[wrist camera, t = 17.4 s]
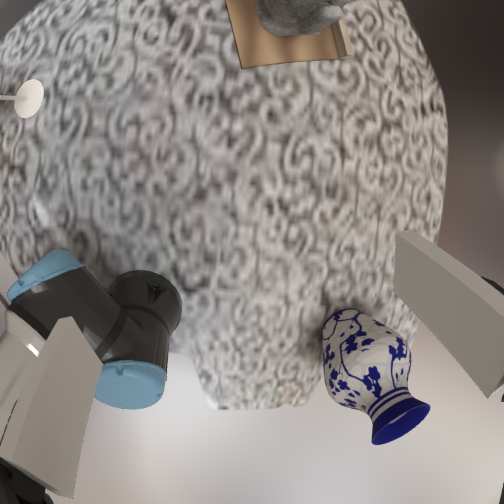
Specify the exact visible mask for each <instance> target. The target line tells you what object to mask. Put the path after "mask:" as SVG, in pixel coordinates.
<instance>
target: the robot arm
mask: <svg viewBox="0 0 504 504" xmlns="http://www.w3.org/2000/svg"><path fill="white" fill-rule="evenodd" d="M393 291H394V292H395V294H396V295H397V296H398V297H399V298H400V299H401V300H402V301H403V302H404V303H405V304H406V305H407V306H408V307H409V308H410V309H411V310H412V311H413V312H414V313H415V314H416V316H417V317H418V318H419V319H420V320H421V321H422V322H423V323H424V324H425V325H426V326H427V327H428V328H429V330H430V331H431V332H432V333H433V334H434V335H435V336H436V337H437V338H438V340H439V341H440V342H441V343H442V344H443V345H444V346H445V348H446V349H448V351H449V352H450V353H451V354H452V356H453V357H454V358H455V359H456V360H457V362H458V363H459V364H460V365H461V366H462V368H463V369H464V370H465V371H466V372H467V373H468V375H469V376H470V377H471V378H472V380H473V381H474V382H475V383H476V385H477V386H478V387H479V388H480V390H481V391H482V392H483V393H484V395H485V396H486V397H487V399H489V398H490V397H491V396H493V395H494V394H495V393H496V392H497V391H499V390H500V389H501V388H502V387H503V385H504V289H503V288H502V287H501V286H499V285H498V284H497V283H495V282H494V281H491V280H489V279H487V278H484V277H479V276H478V275H477V274H476V273H474V272H473V271H472V270H470V269H469V268H467V267H466V266H465V265H463V264H462V263H460V262H459V261H458V260H456V259H455V258H453V257H452V256H450V255H449V254H447V253H446V252H445V251H443V250H441V249H440V248H439V247H437V246H436V245H434V244H433V243H431V242H430V241H428V240H427V239H425V238H424V237H422V236H421V235H419V234H417V233H416V232H414V231H413V230H411V229H409V230H406V231H402V232H399V233H396V249H395V271H394V286H393ZM7 297H8V300H9V301H10V302H11V304H10V306H9V307H8V308H7V310H6V311H5V323H6V328H5V331H4V333H3V334H2V335H1V337H0V504H53V501H52V499H51V498H50V496H49V495H48V494H46V493H45V489H46V488H47V489H48V490H50V491H52V492H53V493H55V494H57V495H60V496H64V497H68V498H72V499H73V498H74V490H75V483H76V477H77V470H78V464H79V459H80V454H81V449H82V443H83V439H84V434H85V430H86V425H87V421H88V417H89V413H90V409H91V405H92V401H93V397H95V398H96V399H98V400H99V401H101V402H103V403H105V404H107V405H110V406H113V407H117V408H121V409H142V408H146V407H149V406H151V405H153V404H155V403H156V402H158V401H159V400H160V398H161V397H162V395H163V392H164V386H165V382H166V380H167V363H168V350H169V338H170V336H171V334H172V333H173V331H174V330H175V329H176V327H177V326H178V324H179V322H180V319H181V313H182V301H181V298H180V295H179V293H178V291H177V290H176V288H175V287H174V286H173V285H172V284H171V283H170V282H169V281H168V280H167V279H165V278H164V277H162V276H160V275H158V274H156V273H153V272H149V271H132V272H128V273H126V274H123V275H122V276H120V277H119V278H118V279H117V280H116V281H115V282H114V283H113V285H112V287H111V289H110V291H109V293H108V292H107V291H106V290H105V289H104V288H103V287H102V286H101V285H100V284H99V283H98V281H97V280H96V279H95V278H94V277H93V276H92V275H91V274H90V273H89V272H88V270H87V269H86V268H85V265H84V264H81V263H80V262H79V261H78V260H77V259H76V258H75V257H74V256H73V255H72V254H71V253H70V252H69V251H68V250H67V249H64V248H58V249H55V250H53V251H52V252H50V253H49V254H47V255H46V256H44V257H43V258H42V259H40V260H39V261H38V262H37V263H35V264H34V265H33V266H32V267H31V268H30V269H29V270H27V271H26V272H25V273H24V274H23V275H22V277H21V278H19V279H18V281H16V282H15V283H14V284H13V285H12V286H11V288H10V289H9V290H8V292H7ZM501 402H504V394H503V396H502V400H501ZM499 504H504V484H503V489H502V493H501V498H500V502H499Z"/></svg>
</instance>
